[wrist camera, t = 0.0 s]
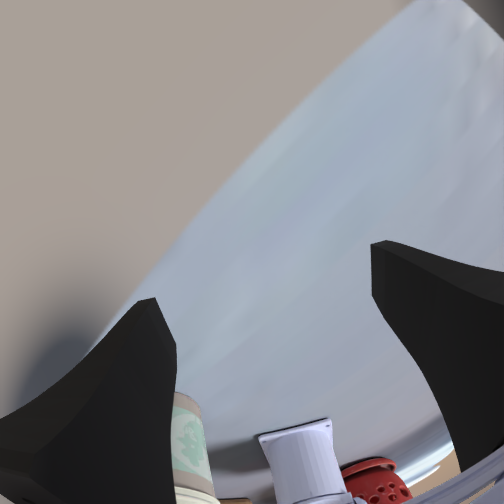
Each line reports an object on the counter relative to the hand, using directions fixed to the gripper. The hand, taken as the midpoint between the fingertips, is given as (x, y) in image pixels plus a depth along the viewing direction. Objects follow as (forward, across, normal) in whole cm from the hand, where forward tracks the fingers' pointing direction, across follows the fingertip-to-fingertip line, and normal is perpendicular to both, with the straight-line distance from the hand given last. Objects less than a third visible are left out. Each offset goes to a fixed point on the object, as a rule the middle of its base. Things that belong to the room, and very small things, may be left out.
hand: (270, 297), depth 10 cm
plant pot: (+10, -8, +45) cm, 47 cm away
